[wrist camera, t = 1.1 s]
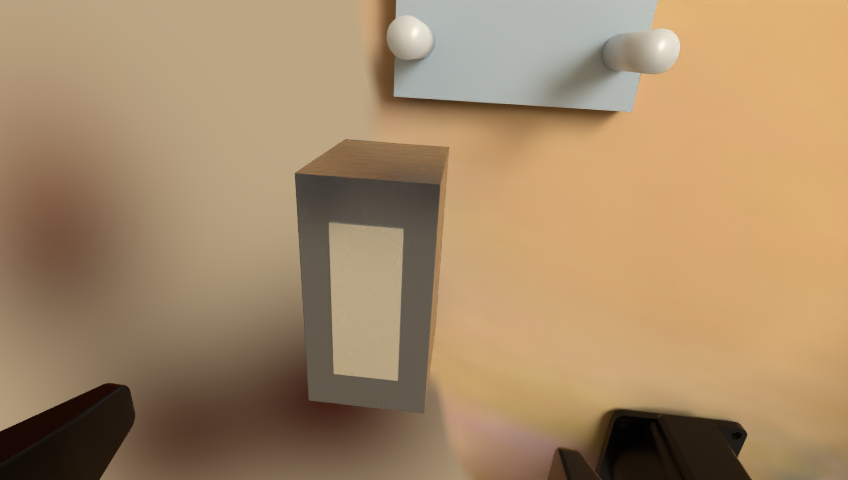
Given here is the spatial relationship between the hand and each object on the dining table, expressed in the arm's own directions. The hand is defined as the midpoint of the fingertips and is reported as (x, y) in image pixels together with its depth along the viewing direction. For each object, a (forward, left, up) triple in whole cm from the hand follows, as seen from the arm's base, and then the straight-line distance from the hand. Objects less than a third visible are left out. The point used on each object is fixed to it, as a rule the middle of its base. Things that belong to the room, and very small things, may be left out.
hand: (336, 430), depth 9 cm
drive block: (-1, +1, -12) cm, 12 cm away
